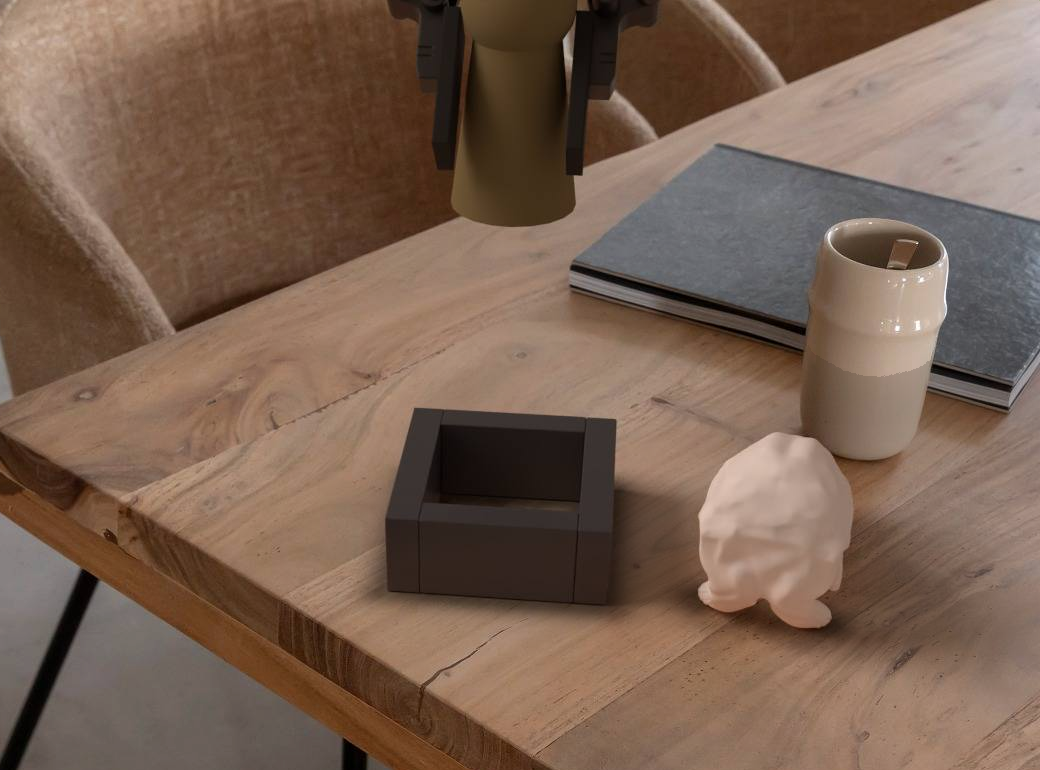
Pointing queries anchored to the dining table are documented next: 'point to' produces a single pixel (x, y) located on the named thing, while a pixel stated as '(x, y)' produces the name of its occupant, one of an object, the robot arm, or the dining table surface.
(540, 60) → the cork
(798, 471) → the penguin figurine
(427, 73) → the robot arm
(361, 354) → the dining table surface
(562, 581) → the socket base
